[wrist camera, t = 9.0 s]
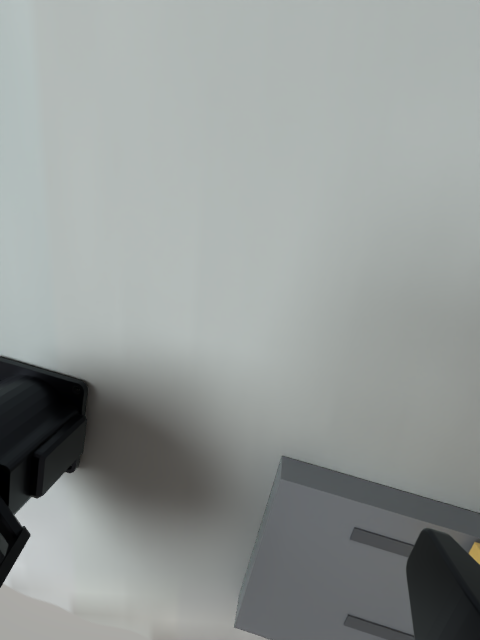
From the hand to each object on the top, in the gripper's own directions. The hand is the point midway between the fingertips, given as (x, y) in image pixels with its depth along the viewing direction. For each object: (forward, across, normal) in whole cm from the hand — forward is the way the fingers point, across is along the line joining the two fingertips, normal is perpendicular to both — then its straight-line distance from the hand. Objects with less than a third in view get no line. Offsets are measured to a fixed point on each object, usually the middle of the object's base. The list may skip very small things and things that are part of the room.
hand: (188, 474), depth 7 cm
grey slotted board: (+13, -12, +14) cm, 22 cm away
